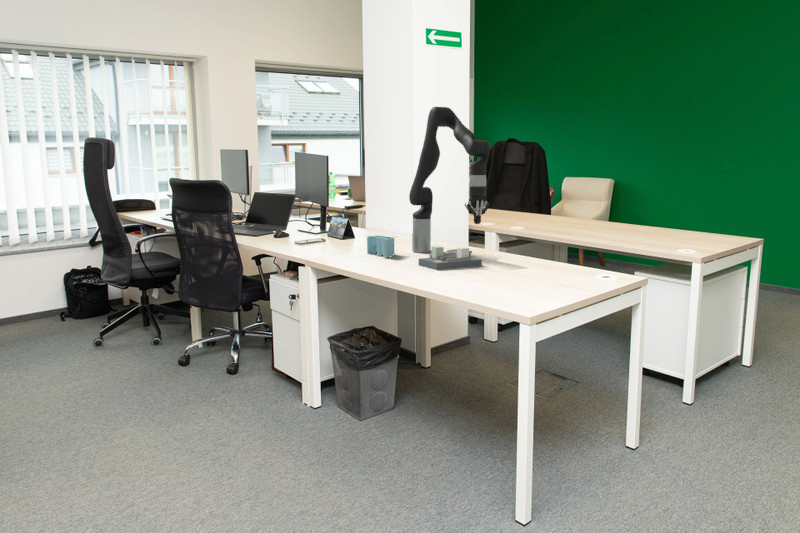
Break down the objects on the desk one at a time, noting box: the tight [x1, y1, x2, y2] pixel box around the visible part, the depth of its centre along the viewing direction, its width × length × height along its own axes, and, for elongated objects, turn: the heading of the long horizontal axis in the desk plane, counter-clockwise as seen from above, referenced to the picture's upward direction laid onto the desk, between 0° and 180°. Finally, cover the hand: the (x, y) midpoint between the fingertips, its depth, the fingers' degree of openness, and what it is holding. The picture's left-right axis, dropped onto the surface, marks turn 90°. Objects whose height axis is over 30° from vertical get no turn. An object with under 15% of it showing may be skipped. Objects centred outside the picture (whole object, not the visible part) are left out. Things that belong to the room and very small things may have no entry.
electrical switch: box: [446, 248, 473, 257], centre depth 310 cm, size 9×5×9 cm
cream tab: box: [456, 246, 470, 258], centre depth 285 cm, size 4×4×5 cm
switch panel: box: [418, 252, 483, 271], centre depth 288 cm, size 16×24×4 cm, turn 118°
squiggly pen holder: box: [366, 235, 395, 259], centre depth 321 cm, size 18×10×9 cm, turn 42°
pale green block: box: [431, 245, 445, 259], centre depth 290 cm, size 4×4×5 cm
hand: (477, 223), depth 287 cm, fingers closed
